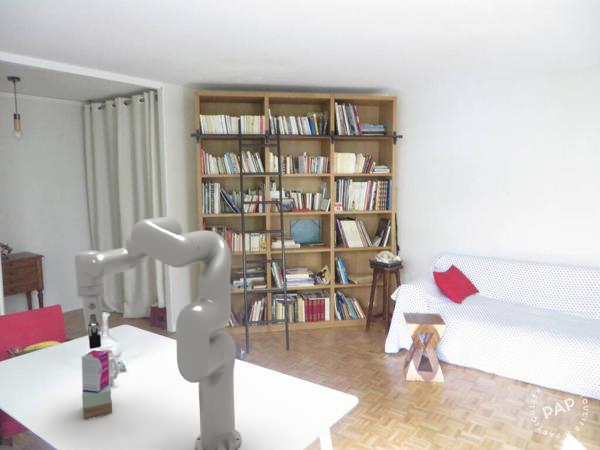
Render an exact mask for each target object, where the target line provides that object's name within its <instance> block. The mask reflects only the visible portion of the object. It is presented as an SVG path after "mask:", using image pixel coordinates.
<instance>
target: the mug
mask: <svg viewBox="0 0 600 450" xmlns="http://www.w3.org/2000/svg"><path fill="white" fill-rule="evenodd" d="M98 351H105V352H108V356H109V380H110V387H111V386H113V385H114V383H115V380H117V378H118V375H119V371H120V369H119V363H118V361H117V358H116V357H114V351H113V350H112V349H108V348H107V349H106V348H105V349H100V350H98ZM114 367H115V370H114ZM114 371H115V372H114Z"/></svg>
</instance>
